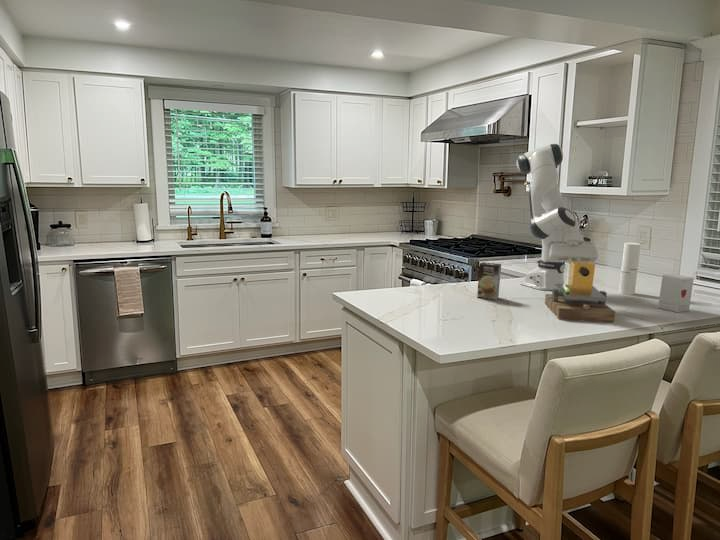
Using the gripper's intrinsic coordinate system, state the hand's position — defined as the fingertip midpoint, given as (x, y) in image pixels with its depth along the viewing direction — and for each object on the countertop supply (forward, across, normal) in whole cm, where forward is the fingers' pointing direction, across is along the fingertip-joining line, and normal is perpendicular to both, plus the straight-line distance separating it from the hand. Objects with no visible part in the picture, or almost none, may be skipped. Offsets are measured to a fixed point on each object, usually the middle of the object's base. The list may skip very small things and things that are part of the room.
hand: (575, 267), depth 232 cm
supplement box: (+10, +45, +15) cm, 48 cm away
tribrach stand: (+20, -1, +4) cm, 21 cm away
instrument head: (+15, -1, -2) cm, 15 cm away
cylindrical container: (-12, +36, +37) cm, 53 cm away
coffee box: (+6, -35, +19) cm, 40 cm away
